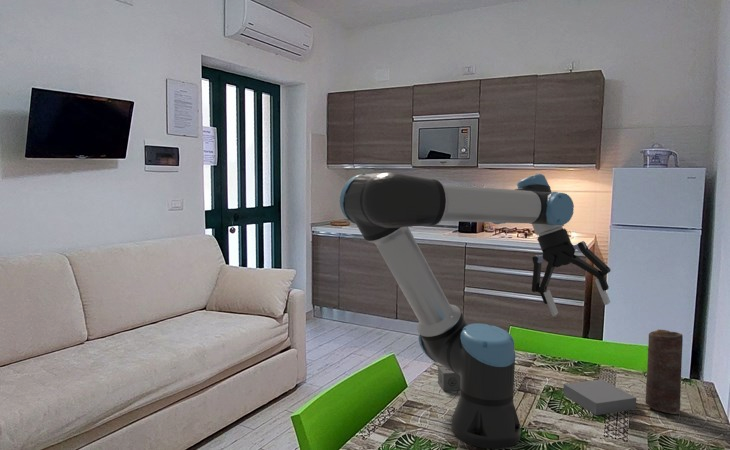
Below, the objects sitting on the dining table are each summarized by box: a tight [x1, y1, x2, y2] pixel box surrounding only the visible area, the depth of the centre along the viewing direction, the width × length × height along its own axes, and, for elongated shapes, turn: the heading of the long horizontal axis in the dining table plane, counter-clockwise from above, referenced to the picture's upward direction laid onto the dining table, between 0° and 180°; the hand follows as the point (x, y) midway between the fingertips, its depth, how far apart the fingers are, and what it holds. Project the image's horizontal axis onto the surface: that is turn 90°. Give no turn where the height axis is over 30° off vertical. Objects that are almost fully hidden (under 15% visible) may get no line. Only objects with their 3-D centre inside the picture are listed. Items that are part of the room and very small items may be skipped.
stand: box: [562, 378, 637, 416], centre depth 125 cm, size 12×12×3 cm
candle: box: [645, 329, 684, 415], centre depth 120 cm, size 8×7×20 cm
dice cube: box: [437, 365, 461, 392], centre depth 134 cm, size 5×5×5 cm
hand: (580, 309), depth 125 cm, fingers open, 13 cm apart
